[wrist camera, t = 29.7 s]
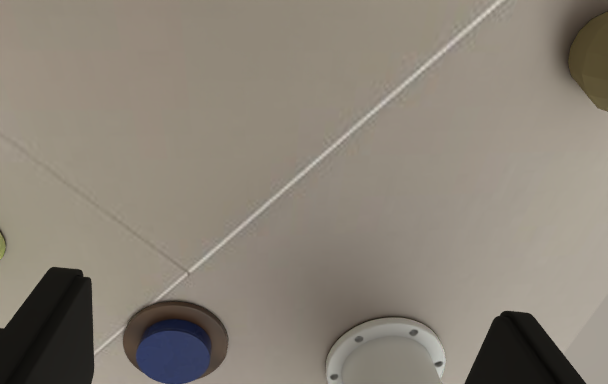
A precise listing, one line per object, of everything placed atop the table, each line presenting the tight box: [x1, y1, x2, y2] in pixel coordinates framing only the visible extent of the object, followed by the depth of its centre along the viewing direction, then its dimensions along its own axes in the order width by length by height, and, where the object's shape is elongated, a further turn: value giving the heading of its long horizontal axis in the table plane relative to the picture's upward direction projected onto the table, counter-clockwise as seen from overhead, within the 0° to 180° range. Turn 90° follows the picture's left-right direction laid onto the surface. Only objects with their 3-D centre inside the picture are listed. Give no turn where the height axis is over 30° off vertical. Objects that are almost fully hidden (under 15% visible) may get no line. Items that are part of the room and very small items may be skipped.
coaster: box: [123, 301, 228, 380], centre depth 44 cm, size 10×10×1 cm
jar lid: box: [136, 319, 212, 384], centre depth 43 cm, size 7×7×2 cm
